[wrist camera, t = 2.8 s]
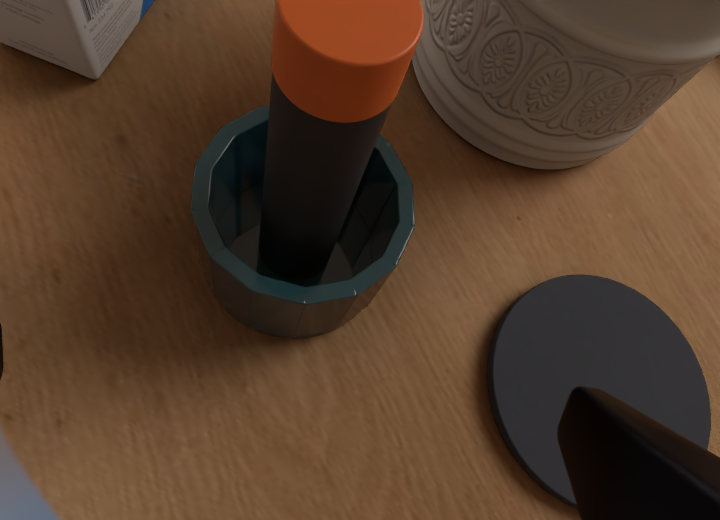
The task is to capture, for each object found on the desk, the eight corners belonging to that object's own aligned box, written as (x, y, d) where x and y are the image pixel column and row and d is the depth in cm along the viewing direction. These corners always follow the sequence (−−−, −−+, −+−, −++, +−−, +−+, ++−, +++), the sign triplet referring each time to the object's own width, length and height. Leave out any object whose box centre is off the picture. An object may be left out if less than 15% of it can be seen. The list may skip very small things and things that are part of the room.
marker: (323, 289, 23) (411, 84, 11) (248, 269, 23) (257, 36, 11) (339, 223, 24) (435, -26, 12) (269, 203, 24) (297, -72, 12)
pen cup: (364, 359, 23) (395, 328, 18) (172, 310, 22) (155, 265, 17) (398, 198, 26) (432, 137, 21) (230, 150, 25) (228, 76, 20)
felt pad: (705, 540, 23) (716, 542, 22) (472, 485, 22) (478, 485, 21) (697, 309, 27) (707, 305, 26) (500, 253, 26) (505, 248, 25)
